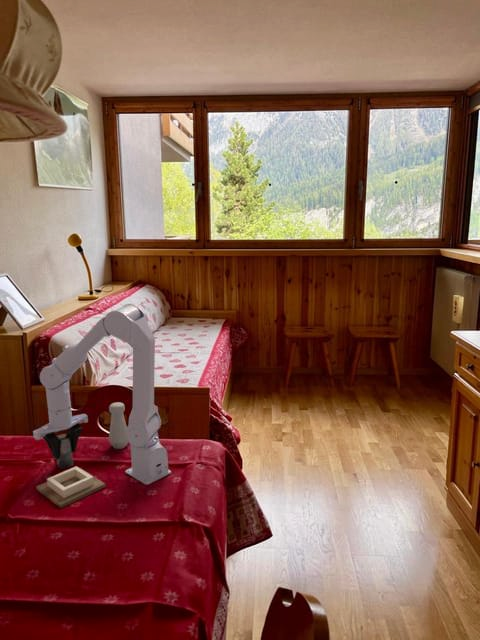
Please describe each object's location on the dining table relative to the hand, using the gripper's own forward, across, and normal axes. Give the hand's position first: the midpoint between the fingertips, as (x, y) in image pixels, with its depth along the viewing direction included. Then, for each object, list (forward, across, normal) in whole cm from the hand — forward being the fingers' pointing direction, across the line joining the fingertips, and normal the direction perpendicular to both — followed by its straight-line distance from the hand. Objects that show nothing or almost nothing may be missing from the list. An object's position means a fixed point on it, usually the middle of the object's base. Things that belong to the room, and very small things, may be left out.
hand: (64, 454), depth 135 cm
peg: (+3, 0, 0) cm, 3 cm away
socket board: (+3, +5, +12) cm, 13 cm away
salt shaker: (+3, -16, +2) cm, 16 cm away
